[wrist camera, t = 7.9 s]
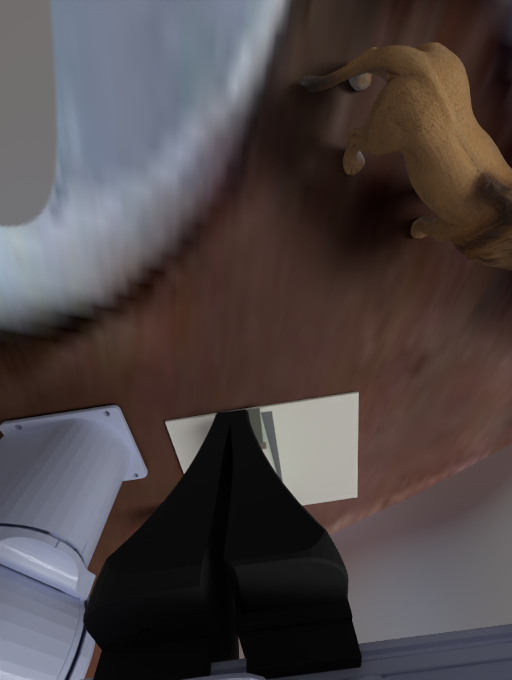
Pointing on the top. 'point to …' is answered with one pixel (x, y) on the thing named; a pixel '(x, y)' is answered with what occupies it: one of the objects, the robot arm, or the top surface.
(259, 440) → the pale green long block
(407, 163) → the lion figurine
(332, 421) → the card
